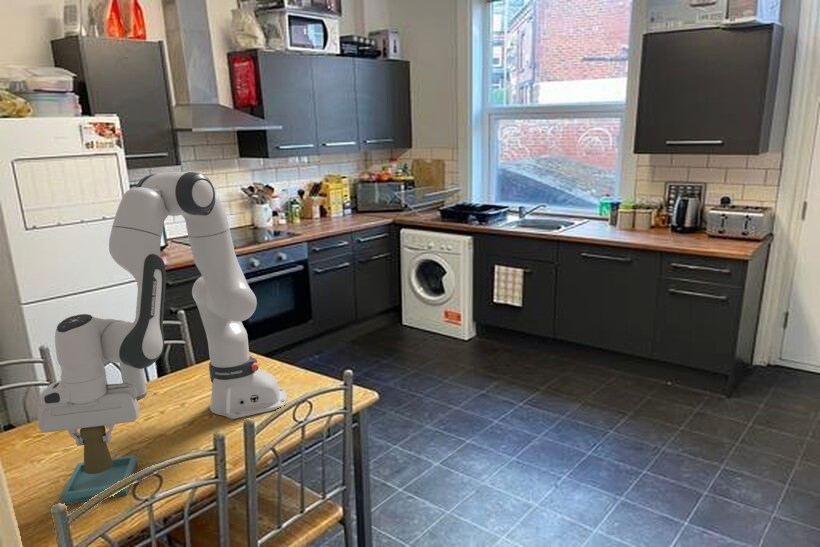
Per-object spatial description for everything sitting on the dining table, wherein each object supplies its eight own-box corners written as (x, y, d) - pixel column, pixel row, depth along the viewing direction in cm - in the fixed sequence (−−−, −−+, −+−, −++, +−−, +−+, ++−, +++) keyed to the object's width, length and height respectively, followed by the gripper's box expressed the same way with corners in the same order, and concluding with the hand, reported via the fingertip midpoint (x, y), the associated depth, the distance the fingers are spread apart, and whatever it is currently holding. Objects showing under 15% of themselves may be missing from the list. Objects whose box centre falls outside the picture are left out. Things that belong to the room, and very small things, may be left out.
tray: (137, 464, 147) (135, 455, 146) (126, 495, 134) (125, 485, 134) (79, 472, 144) (77, 463, 143) (63, 505, 131) (61, 495, 131)
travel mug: (124, 402, 180) (115, 340, 175) (125, 394, 186) (116, 333, 181) (147, 398, 182) (138, 337, 177) (146, 390, 188) (138, 330, 183)
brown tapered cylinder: (100, 475, 134) (93, 431, 132) (77, 472, 136) (70, 429, 133) (118, 460, 140) (112, 418, 138) (96, 458, 141) (89, 416, 139)
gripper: (138, 376, 138) (145, 429, 142) (40, 386, 133) (50, 442, 137) (132, 387, 132) (140, 442, 136) (30, 398, 128) (41, 456, 131)
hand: (94, 442), depth 136 cm, fingers closed on brown tapered cylinder, 4 cm apart
